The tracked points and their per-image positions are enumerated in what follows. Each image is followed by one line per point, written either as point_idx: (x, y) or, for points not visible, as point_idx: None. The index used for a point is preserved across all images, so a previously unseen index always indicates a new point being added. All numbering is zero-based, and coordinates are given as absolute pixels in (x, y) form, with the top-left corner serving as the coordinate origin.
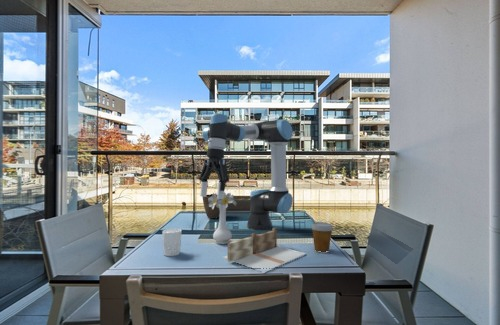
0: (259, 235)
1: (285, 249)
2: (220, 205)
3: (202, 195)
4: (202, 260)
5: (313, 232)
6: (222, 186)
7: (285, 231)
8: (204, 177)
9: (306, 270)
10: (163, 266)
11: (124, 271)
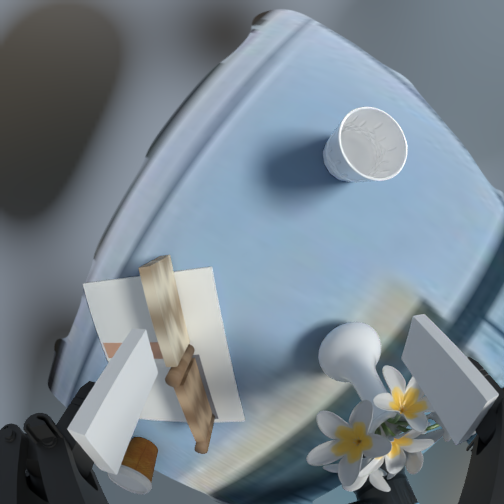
0: (176, 393)
1: (175, 414)
2: (385, 413)
3: (412, 330)
4: (233, 205)
5: (135, 465)
6: (68, 409)
7: (298, 482)
8: (495, 451)
9: (72, 352)
10: (257, 98)
11: (281, 29)
